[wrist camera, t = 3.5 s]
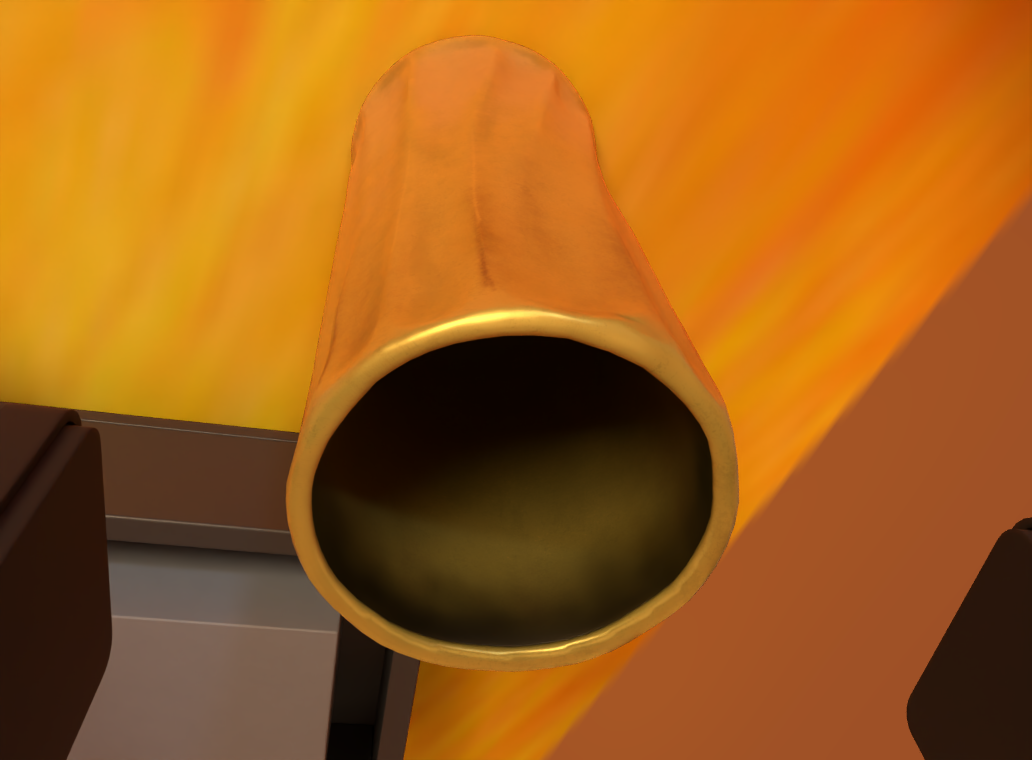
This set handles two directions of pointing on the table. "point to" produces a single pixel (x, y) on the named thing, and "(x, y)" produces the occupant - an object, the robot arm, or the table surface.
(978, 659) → the robot arm
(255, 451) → the crate
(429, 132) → the vase
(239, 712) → the block
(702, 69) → the table surface
